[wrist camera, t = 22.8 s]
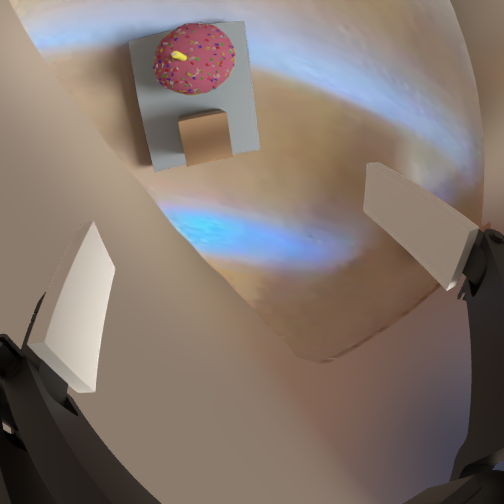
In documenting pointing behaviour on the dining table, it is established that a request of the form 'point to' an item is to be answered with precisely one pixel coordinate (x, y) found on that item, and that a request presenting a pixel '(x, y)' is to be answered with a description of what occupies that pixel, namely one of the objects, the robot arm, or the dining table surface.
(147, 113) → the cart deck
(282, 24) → the dining table surface
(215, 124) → the walnut block
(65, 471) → the robot arm
